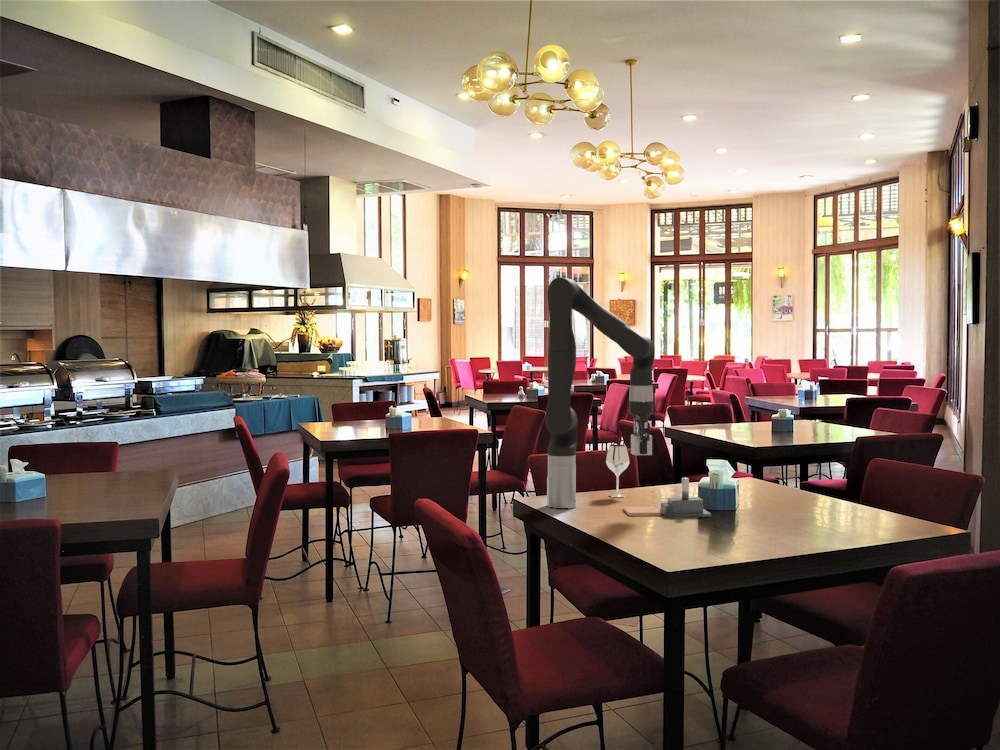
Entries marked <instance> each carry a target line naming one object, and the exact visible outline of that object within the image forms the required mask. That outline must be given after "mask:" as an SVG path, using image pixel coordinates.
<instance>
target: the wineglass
mask: <svg viewBox="0 0 1000 750" xmlns="http://www.w3.org/2000/svg"><path fill="white" fill-rule="evenodd" d="M605 458H606V459H605V464H606V466H607V467H608V469H609V470H611V472H613V474H614V475H615V476H616V493H613V496H611V497H610V498H613V497H624V498H627V497H628V496H627V495H626V494H623V493H622V494H621V493H620V489H619V487H620V484H619V483H620V478H619V477H620V475H621V474H622V473H623V472H624V471H625V470H627V469H628V467H629V465H630V456H629V453H628V448H627V445H626V444H609V446H608V449H607V453H606V457H605ZM626 496H627V497H626Z"/></svg>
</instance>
